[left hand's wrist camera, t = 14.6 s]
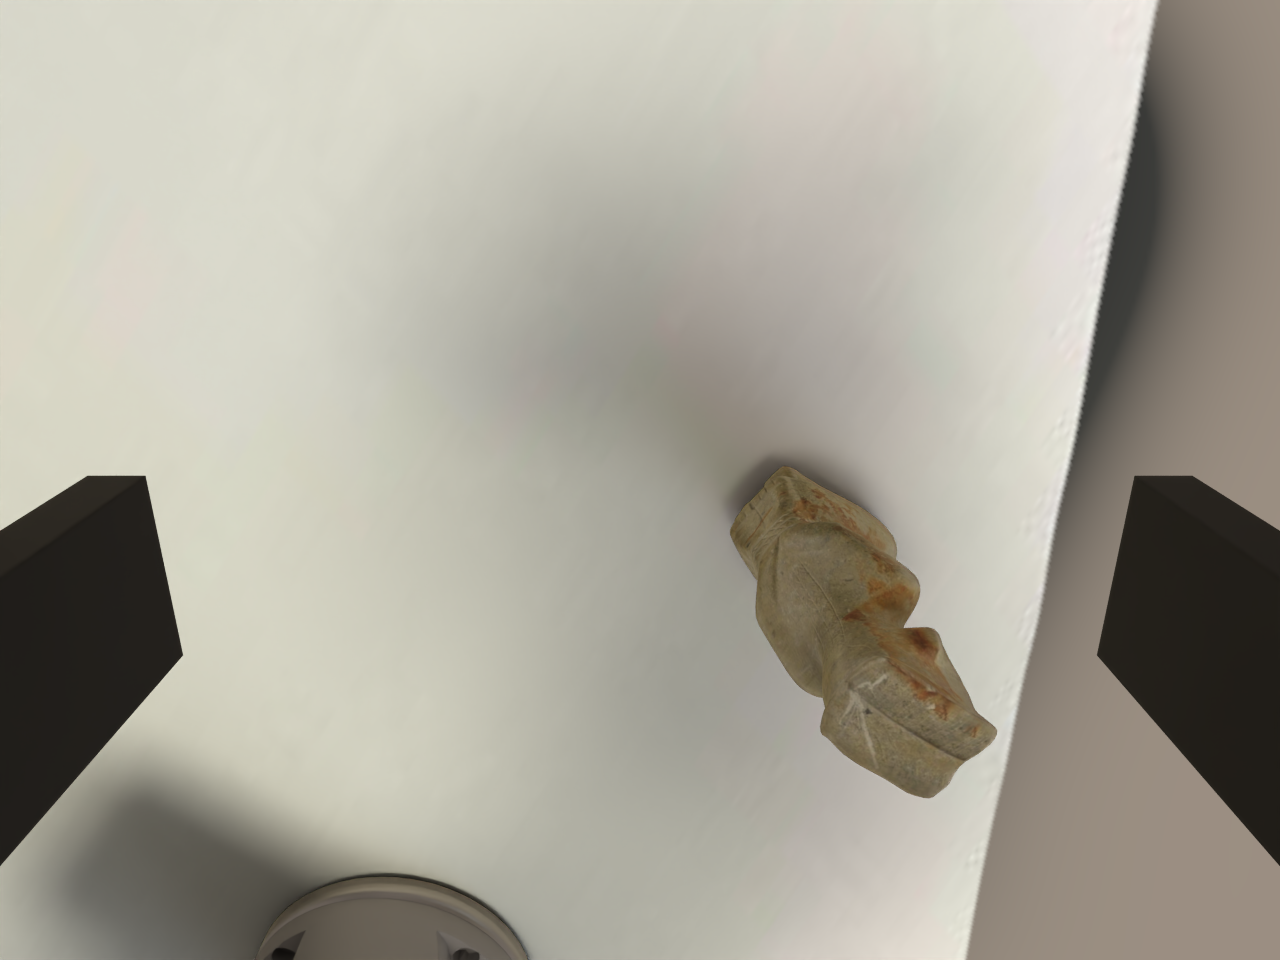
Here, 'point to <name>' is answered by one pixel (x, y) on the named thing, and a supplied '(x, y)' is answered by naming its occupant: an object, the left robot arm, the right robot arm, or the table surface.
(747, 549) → the sculpture
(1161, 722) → the left robot arm
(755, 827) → the table surface
